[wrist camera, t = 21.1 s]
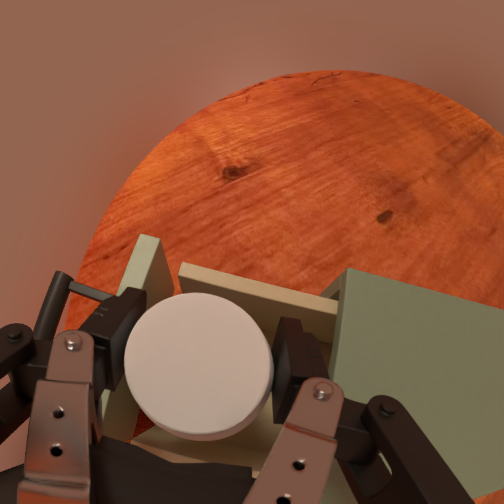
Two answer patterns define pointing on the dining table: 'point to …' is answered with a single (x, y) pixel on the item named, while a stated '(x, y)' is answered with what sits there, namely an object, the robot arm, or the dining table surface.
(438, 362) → the cabinet
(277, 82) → the dining table surface
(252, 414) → the pill bottle
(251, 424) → the drawer
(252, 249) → the dining table surface
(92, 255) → the dining table surface
